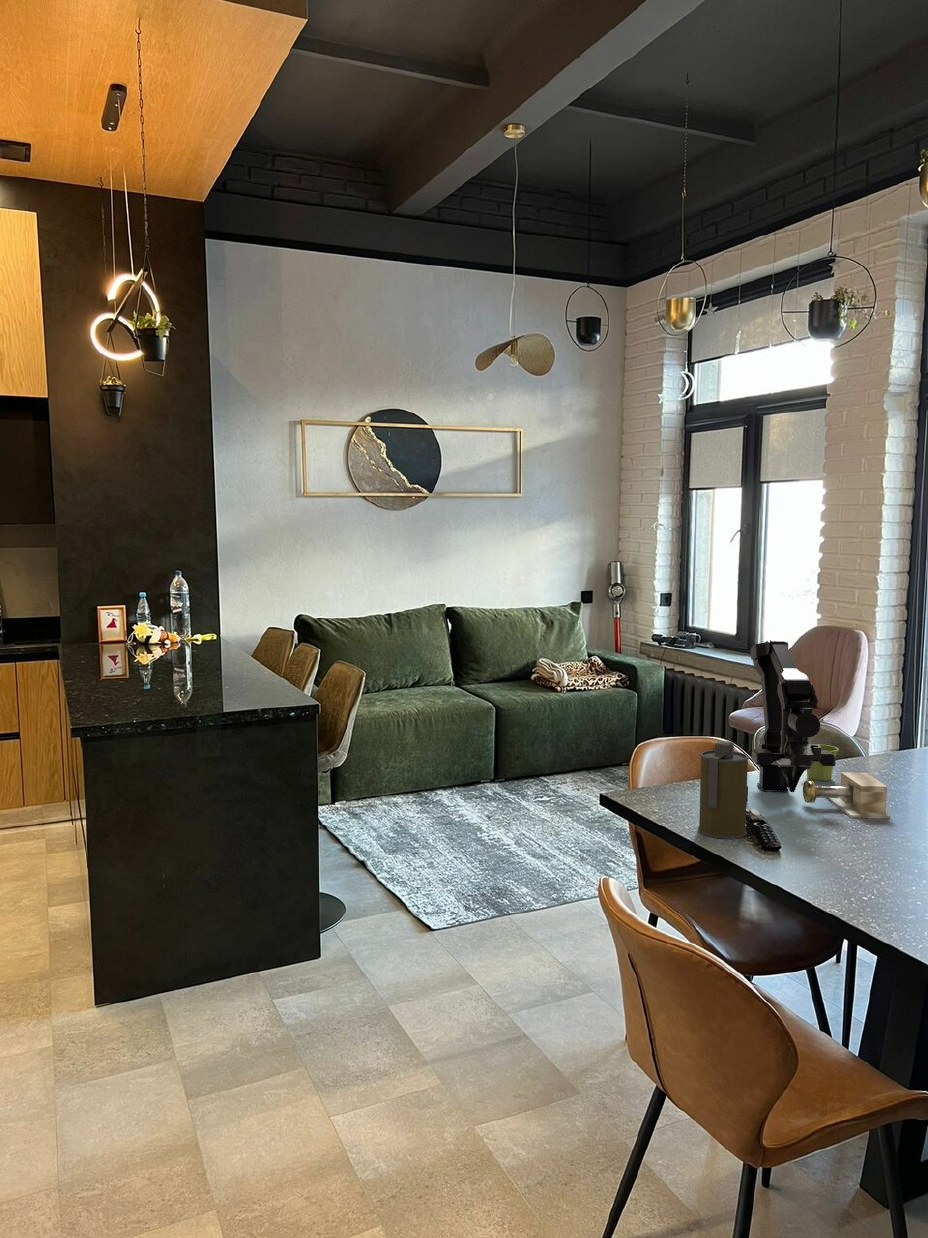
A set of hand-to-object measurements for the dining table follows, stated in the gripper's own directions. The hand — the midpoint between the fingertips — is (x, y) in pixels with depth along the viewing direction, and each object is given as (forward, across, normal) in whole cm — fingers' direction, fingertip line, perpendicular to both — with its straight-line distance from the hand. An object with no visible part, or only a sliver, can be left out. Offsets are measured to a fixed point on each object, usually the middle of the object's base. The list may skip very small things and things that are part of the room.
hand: (791, 792), depth 221 cm
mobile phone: (+4, -13, +9) cm, 16 cm away
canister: (+4, -22, -22) cm, 31 cm away
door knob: (+2, +11, 0) cm, 11 cm away
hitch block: (+3, +15, 0) cm, 16 cm away
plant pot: (+4, +16, +28) cm, 33 cm away
